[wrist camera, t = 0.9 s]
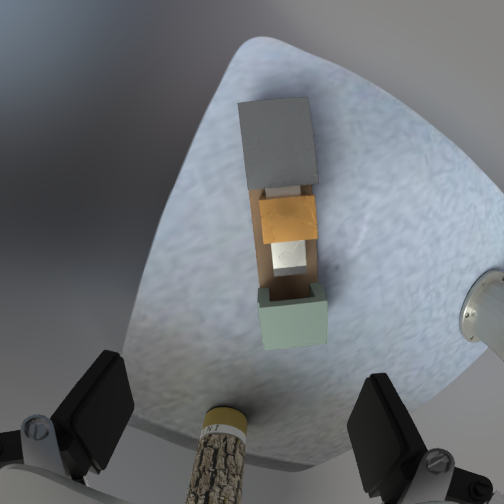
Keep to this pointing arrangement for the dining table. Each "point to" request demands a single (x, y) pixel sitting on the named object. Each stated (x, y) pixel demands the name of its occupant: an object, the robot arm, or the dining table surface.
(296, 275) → the board
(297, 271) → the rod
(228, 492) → the brown bark cylinder
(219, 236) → the dining table surface
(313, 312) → the socket
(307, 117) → the sleeve
